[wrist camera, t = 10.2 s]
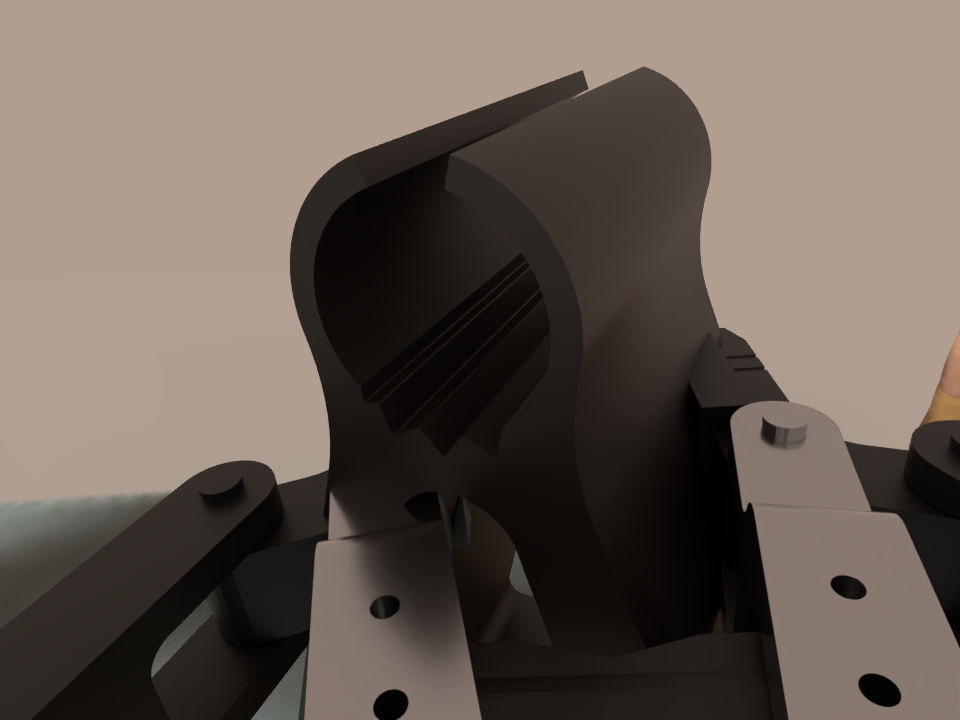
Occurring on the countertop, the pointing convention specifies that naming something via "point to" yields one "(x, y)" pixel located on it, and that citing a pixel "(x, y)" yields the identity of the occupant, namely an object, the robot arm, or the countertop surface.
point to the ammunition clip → (947, 389)
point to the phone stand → (529, 353)
